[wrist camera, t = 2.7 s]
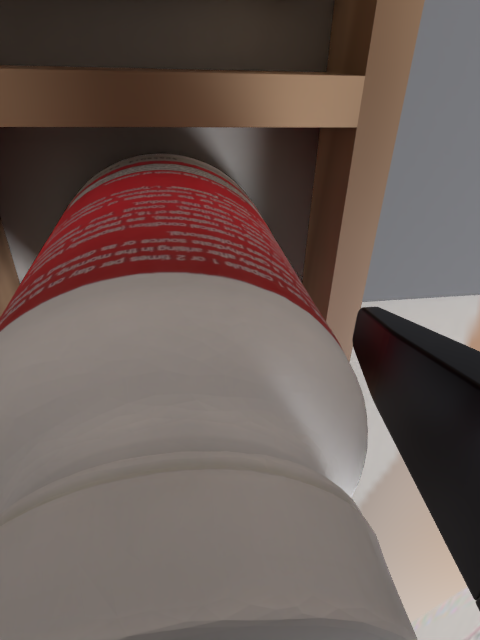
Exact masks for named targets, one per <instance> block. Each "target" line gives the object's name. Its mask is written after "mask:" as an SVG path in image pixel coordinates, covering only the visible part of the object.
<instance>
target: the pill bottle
mask: <svg viewBox="0 0 480 640" xmlns="http://www.w3.org/2000/svg"><path fill="white" fill-rule="evenodd" d="M367 433H368V427H367V415H366V408H365V402H364V397H363V394H362V391H361V388H360V385H359V382H358V380H357V377H356V375H355V373H354V371H353V369H352V367H351V365H350V363H349V361H348V359H347V357H346V355H345V353H344V351H343V349H342V347H341V345H340V343H339V342H338V340H337V338H336V337H335V335H334V334H333V332H332V330H331V329H330V327H329V326H328V324H327V323H326V321H325V319H324V318H323V316H322V315H321V313H320V312H319V310H318V309H317V307H316V305H315V304H314V302H313V301H312V299H311V297H310V296H309V294H308V292H307V291H306V289H305V287H304V286H303V284H302V283H301V281H300V279H299V278H298V276H297V274H296V273H295V271H294V269H293V268H292V266H291V265H290V263H289V261H288V259H287V258H286V256H285V255H284V253H283V251H282V249H281V248H280V246H279V245H278V243H277V241H276V240H275V238H274V236H273V235H272V233H271V231H270V229H269V227H268V226H267V224H266V223H265V221H264V219H263V218H262V216H261V214H260V213H259V211H258V209H257V208H256V206H255V205H254V204H253V202H252V201H251V200H250V198H249V197H248V196H247V194H246V193H245V192H244V191H243V190H242V189H241V188H240V187H239V185H237V184H236V183H235V182H234V181H233V180H232V179H231V178H230V177H228V176H227V175H226V174H224V173H223V172H221V171H220V170H218V169H217V168H215V167H213V166H211V165H209V164H207V163H204V162H201V161H199V160H196V159H193V158H189V157H186V156H180V155H174V154H148V155H140V156H135V157H131V158H128V159H125V160H122V161H119V162H117V163H115V164H113V165H111V166H109V167H107V168H105V169H104V170H102V171H101V172H99V173H97V174H96V175H95V176H94V177H93V178H91V179H90V180H89V181H88V182H87V183H86V184H85V185H84V186H83V187H82V188H81V189H80V190H79V192H78V193H77V194H76V195H75V197H74V198H73V199H72V201H71V202H70V203H69V205H68V207H67V209H66V210H65V212H64V213H63V215H62V217H61V218H60V220H59V222H58V223H57V225H56V227H55V228H54V230H53V232H52V233H51V235H50V236H49V238H48V240H47V241H46V243H45V244H44V246H43V247H42V249H41V251H40V252H39V254H38V256H37V257H36V259H35V261H34V262H33V264H32V266H31V267H30V269H29V270H28V272H27V274H26V275H25V277H24V279H23V280H22V282H21V284H20V285H19V287H18V289H17V290H16V292H15V294H14V295H13V297H12V299H11V301H10V302H9V304H8V306H7V307H6V309H5V310H4V312H3V314H2V315H1V317H0V640H417V637H416V635H415V632H414V630H413V628H412V625H411V623H410V621H409V618H408V616H407V614H406V611H405V609H404V607H403V604H402V602H401V599H400V597H399V595H398V592H397V590H396V587H395V585H394V582H393V580H392V577H391V575H390V572H389V570H388V567H387V565H386V562H385V560H384V557H383V554H382V551H381V548H380V545H379V542H378V540H377V536H376V534H375V533H374V531H373V529H372V528H371V526H370V525H369V523H368V522H367V521H366V519H365V518H364V517H363V515H362V513H361V511H360V510H359V508H358V507H357V505H356V504H355V502H354V501H353V499H352V496H353V494H354V492H355V490H356V487H357V485H358V483H359V480H360V476H361V473H362V470H363V467H364V463H365V457H366V452H367Z"/></svg>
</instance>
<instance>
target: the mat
mask: <svg viewBox="0 0 480 640" xmlns="http://www.w3.org/2000/svg"><path fill="white" fill-rule="evenodd" d="M465 295H480V0H425V2H424V6H423V11H422V16H421V21H420V26H419V30H418V35H417V40H416V45H415V50H414V54H413V59H412V64H411V69H410V74H409V78H408V83H407V88H406V93H405V98H404V102H403V107H402V112H401V117H400V122H399V126H398V131H397V136H396V141H395V146H394V150H393V155H392V160H391V165H390V170H389V174H388V179H387V184H386V189H385V194H384V198H383V203H382V208H381V213H380V218H379V222H378V227H377V232H376V237H375V242H374V246H373V251H372V256H371V261H370V266H369V270H368V275H367V280H366V285H365V290H364V294H363V299H362V302H369V301H385V300H401V299H417V298H433V297H449V296H465Z"/></svg>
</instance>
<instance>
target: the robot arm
mask: <svg viewBox="0 0 480 640" xmlns="http://www.w3.org/2000/svg"><path fill="white" fill-rule="evenodd" d="M352 342H353V347H354V350H355V353H356V356H357V358H358V361H359V364H360V366H361V369H362V372H363V375H364V377H365V380H366V383H367V386H368V388H369V391H370V393H371V396H372V398H373V401H374V403H375V405H376V407H377V409H378V411H379V413H380V415H381V417H382V419H383V421H384V423H385V425H386V427H387V429H388V431H389V433H390V435H391V436H392V438H393V440H394V442H395V444H396V446H397V448H398V450H399V452H400V454H401V456H402V458H403V460H404V462H405V464H406V466H407V468H408V470H409V472H410V474H411V476H412V478H413V480H414V482H415V484H416V486H417V488H418V490H419V492H420V494H421V495H422V498H423V499H424V501H425V503H426V505H427V507H428V509H429V511H430V513H431V515H432V517H433V519H434V521H435V523H436V525H437V527H438V529H439V531H440V533H441V535H442V537H443V539H444V541H445V543H446V545H447V547H448V549H449V551H450V553H451V554H452V556H453V559H454V560H455V563H456V564H457V566H458V568H459V570H460V572H461V574H462V576H463V578H464V580H465V582H466V584H467V586H468V588H469V590H470V592H471V594H472V596H473V598H474V599H475V600H477V601H476V605H477V607H478V609H479V610H480V352H479V351H477V350H475V349H473V348H470V347H468V346H466V345H464V344H461V343H459V342H457V341H454V340H452V339H450V338H448V337H445V336H443V335H441V334H438V333H436V332H434V331H432V330H429V329H427V328H425V327H422V326H420V325H418V324H416V323H413V322H411V321H409V320H406V319H404V318H402V317H400V316H397V315H395V314H393V313H390V312H388V311H386V310H384V309H381V308H379V307H364V308H361V309H360V310H359V311H358V314H357V318H356V323H355V328H354V332H353V338H352Z"/></svg>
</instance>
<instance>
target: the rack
mask: <svg viewBox="0 0 480 640" xmlns="http://www.w3.org/2000/svg"><path fill="white" fill-rule="evenodd" d="M424 2H425V0H335V2H334V10H333V19H332V28H331V36H330V45H329V54H328V62H327V71H326V72H295V71H249V70H203V69H157V68H111V67H65V66H19V65H0V127H320V132H319V140H318V149H317V158H316V166H315V175H314V184H313V192H312V201H311V210H310V219H309V227H308V236H307V245H306V253H305V262H304V271H303V279H302V284H303V286H304V287H305V289H306V291H307V292H308V294H309V296H310V297H311V299H312V301H313V302H314V304H315V305H316V307H317V309H318V310H319V312H320V313H321V315H322V316H323V318H324V319H325V321H326V323H327V324H328V326H329V327H330V329H331V330H332V332H333V334H334V335H335V337H336V338H337V340H338V342H339V343H340V345H341V347H342V349H343V351H344V353H345V355H346V357H347V359H348V361H349V362H350V357H351V352H352V347H353V342H352V338H353V332H354V328H355V323H356V318H357V314H358V311H359V310H360V309H361V304H362V299H363V294H364V290H365V285H366V280H367V275H368V270H369V266H370V261H371V256H372V251H373V246H374V242H375V237H376V232H377V227H378V222H379V218H380V213H381V208H382V203H383V198H384V194H385V189H386V184H387V179H388V174H389V170H390V165H391V160H392V155H393V150H394V146H395V141H396V136H397V131H398V126H399V122H400V117H401V112H402V107H403V102H404V98H405V93H406V88H407V83H408V78H409V74H410V69H411V64H412V59H413V54H414V50H415V45H416V40H417V35H418V30H419V26H420V21H421V16H422V11H423V6H424ZM19 285H20V282H19V279H18V275H17V272H16V269H15V265H14V262H13V259H12V255H11V252H10V248H9V245H8V242H7V238H6V235H5V232H4V228H3V225H2V221H1V218H0V317H1V315H2V314H3V312H4V310H5V309H6V307H7V306H8V304H9V302H10V301H11V299H12V297H13V295H14V294H15V292H16V290H17V289H18V287H19Z"/></svg>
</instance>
